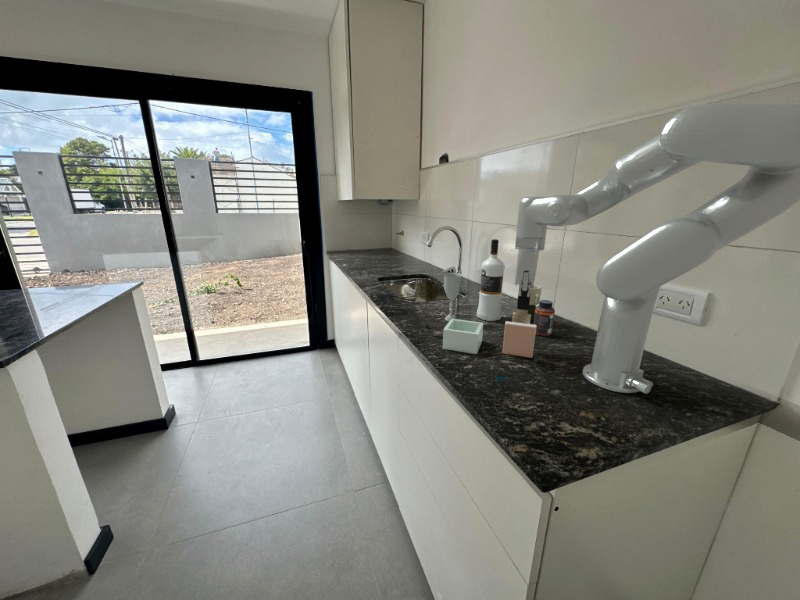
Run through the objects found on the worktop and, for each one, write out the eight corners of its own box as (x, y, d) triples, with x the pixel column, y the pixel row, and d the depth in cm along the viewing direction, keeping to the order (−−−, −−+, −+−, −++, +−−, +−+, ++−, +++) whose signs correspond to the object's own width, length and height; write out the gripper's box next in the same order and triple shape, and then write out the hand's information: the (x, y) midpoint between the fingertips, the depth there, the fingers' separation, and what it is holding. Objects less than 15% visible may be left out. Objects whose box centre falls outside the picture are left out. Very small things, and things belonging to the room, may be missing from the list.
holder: (481, 343, 98) (483, 322, 96) (476, 357, 89) (478, 334, 88) (450, 339, 102) (451, 318, 100) (442, 351, 93) (443, 329, 91)
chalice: (437, 319, 119) (439, 273, 114) (452, 317, 122) (454, 271, 117) (448, 326, 113) (450, 277, 108) (463, 323, 116) (466, 275, 111)
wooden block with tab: (529, 329, 94) (534, 283, 90) (528, 332, 91) (534, 286, 87) (511, 326, 96) (516, 282, 92) (510, 330, 93) (515, 284, 89)
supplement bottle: (554, 336, 104) (559, 304, 100) (536, 336, 104) (540, 304, 101) (547, 330, 109) (551, 298, 106) (529, 330, 109) (533, 298, 106)
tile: (532, 358, 89) (536, 325, 86) (532, 361, 87) (536, 327, 84) (502, 353, 92) (505, 321, 89) (501, 356, 90) (505, 323, 87)
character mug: (544, 324, 115) (548, 289, 111) (526, 325, 114) (530, 290, 110) (528, 314, 125) (532, 282, 122) (511, 315, 124) (515, 283, 121)
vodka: (505, 321, 118) (513, 240, 110) (481, 322, 117) (487, 240, 108) (494, 313, 127) (501, 238, 118) (472, 314, 126) (478, 238, 117)
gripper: (517, 240, 95) (511, 299, 100) (513, 246, 81) (507, 314, 86) (544, 241, 92) (536, 301, 97) (545, 247, 78) (536, 317, 83)
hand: (522, 306), depth 92 cm, fingers closed on wooden block with tab, 3 cm apart
